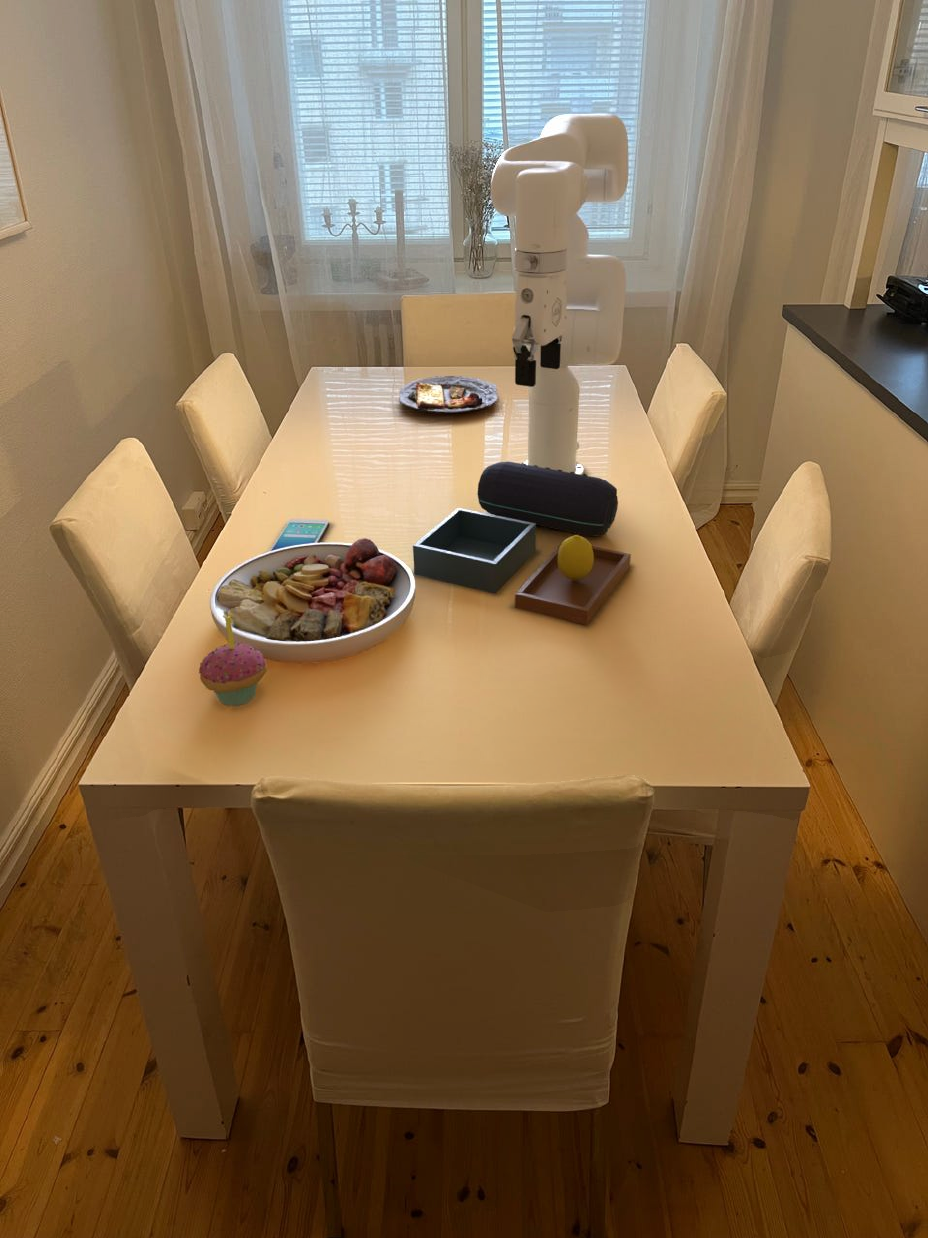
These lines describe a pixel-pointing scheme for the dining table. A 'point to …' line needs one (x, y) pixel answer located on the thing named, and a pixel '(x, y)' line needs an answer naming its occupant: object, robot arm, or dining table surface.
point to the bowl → (315, 600)
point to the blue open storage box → (475, 550)
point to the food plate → (448, 394)
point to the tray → (572, 587)
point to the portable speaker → (548, 497)
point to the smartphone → (301, 533)
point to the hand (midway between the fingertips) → (537, 376)
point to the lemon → (575, 558)
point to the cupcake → (233, 670)
